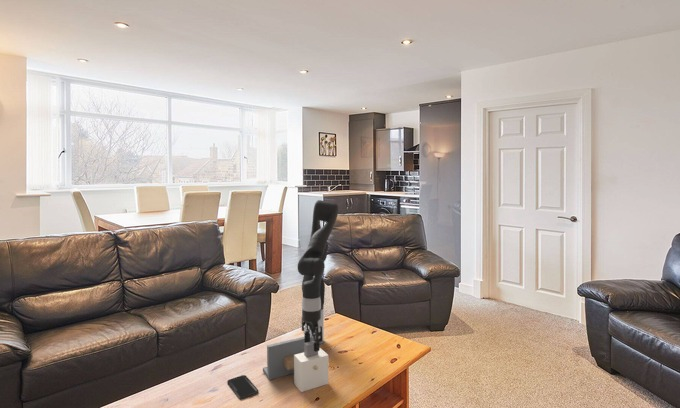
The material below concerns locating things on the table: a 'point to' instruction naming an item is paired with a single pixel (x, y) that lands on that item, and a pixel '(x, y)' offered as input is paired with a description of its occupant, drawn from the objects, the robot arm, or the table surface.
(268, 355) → the wall board
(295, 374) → the cabinet
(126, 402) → the table surface
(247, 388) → the phone
